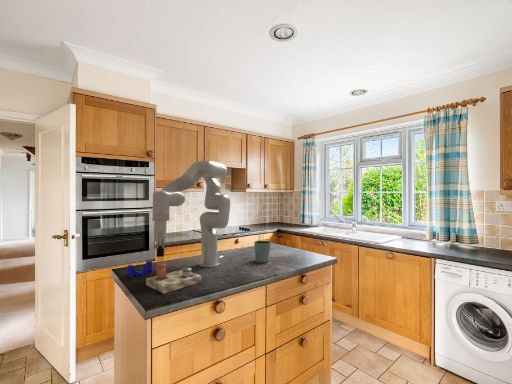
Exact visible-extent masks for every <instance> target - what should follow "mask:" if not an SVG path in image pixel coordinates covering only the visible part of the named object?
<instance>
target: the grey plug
mask: <svg viewBox="0 0 512 384" xmlns="http://www.w3.org/2000/svg"><path fill="white" fill-rule="evenodd" d="M181 270H182V277H183V278H188V277H191V272H192V267H191V266H189V267H188V266H187V267H182V268H181Z"/></svg>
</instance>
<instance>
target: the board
mask: <svg viewBox="0 0 512 384" xmlns="http://www.w3.org/2000/svg"><path fill="white" fill-rule="evenodd" d="M198 283H202V275H201V274H198V273H194V272H192V271H191V277H188V278H183V277H182V269H179V270H175V271H171V272H166V278H165V279H157V275H155V276H151V277H147V278H145V286H147V287H149V288H151V289H153V290H155V291H158V292H159V293H161V294H168V293H170V292H174V291H176V290H180V289H183V288H186V287H189V286H192V285H196V284H198Z"/></svg>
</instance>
